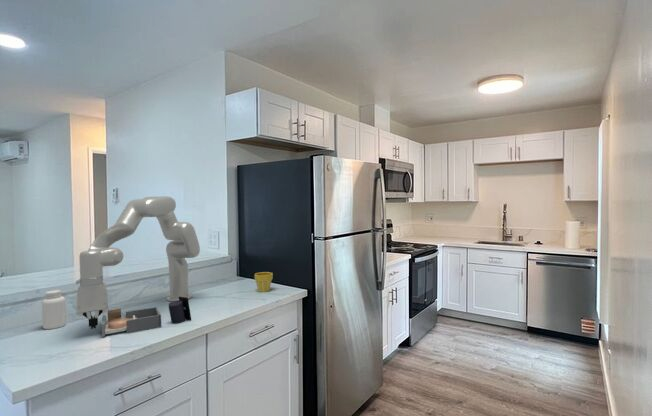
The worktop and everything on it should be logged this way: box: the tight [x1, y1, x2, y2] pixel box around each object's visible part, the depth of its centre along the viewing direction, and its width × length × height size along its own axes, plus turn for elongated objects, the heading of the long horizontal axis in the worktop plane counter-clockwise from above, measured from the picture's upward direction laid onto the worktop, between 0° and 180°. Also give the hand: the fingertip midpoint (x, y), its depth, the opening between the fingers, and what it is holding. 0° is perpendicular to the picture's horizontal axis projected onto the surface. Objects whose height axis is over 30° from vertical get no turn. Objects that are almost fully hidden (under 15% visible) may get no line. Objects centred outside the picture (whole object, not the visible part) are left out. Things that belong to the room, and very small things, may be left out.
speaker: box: [168, 297, 192, 324], centre depth 153 cm, size 8×6×10 cm
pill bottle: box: [41, 289, 67, 330], centre depth 151 cm, size 8×8×15 cm
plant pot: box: [254, 271, 274, 293], centre depth 204 cm, size 10×10×10 cm
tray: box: [101, 314, 137, 338], centre depth 145 cm, size 13×14×5 cm
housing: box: [125, 306, 162, 334], centre depth 149 cm, size 12×15×5 cm
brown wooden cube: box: [107, 308, 122, 322], centre depth 155 cm, size 5×5×5 cm
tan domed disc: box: [107, 317, 130, 329], centre depth 145 cm, size 8×8×2 cm
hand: (93, 327), depth 141 cm, fingers closed
